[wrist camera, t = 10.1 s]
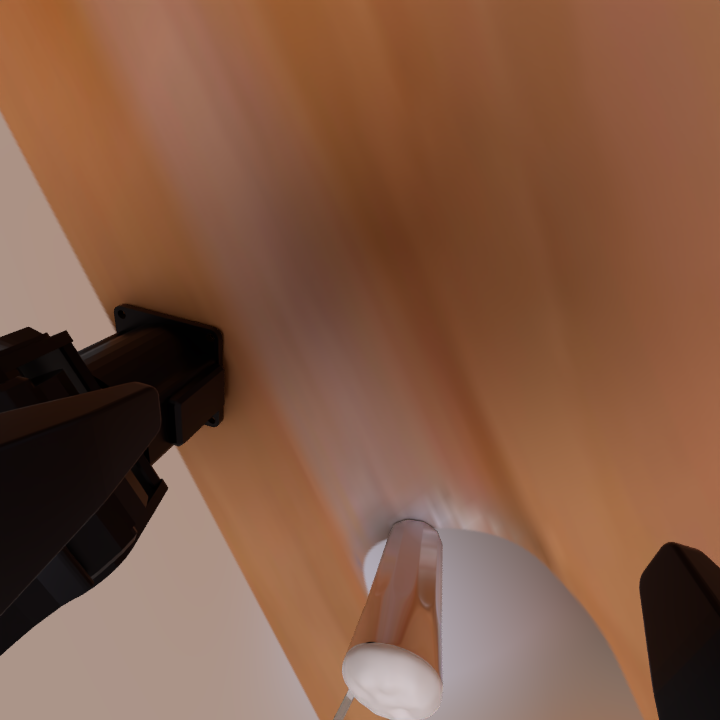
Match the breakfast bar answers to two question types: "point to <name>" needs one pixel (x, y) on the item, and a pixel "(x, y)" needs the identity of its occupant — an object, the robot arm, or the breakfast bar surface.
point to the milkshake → (400, 630)
